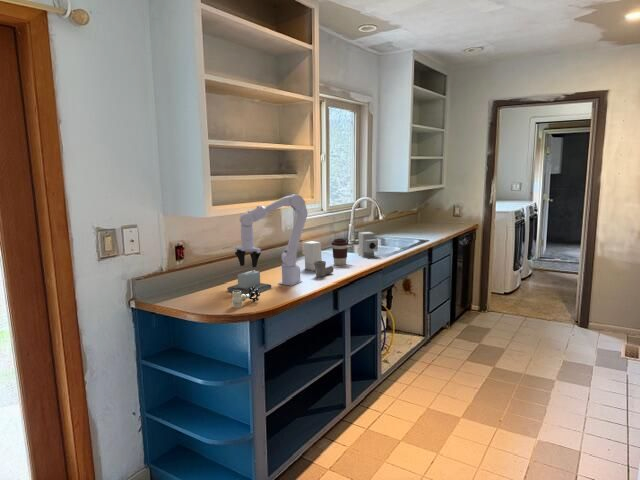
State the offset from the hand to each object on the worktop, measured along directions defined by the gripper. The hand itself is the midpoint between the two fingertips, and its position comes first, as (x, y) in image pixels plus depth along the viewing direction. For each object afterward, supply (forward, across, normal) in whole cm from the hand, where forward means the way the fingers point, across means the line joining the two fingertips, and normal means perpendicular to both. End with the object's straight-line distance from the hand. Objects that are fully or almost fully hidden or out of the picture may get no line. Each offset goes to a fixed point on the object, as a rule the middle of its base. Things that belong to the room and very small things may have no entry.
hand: (248, 266), depth 213 cm
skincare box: (+10, +7, +47) cm, 49 cm away
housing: (+8, +4, -5) cm, 10 cm away
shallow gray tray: (+10, +4, -5) cm, 12 cm away
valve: (+10, +18, -24) cm, 32 cm away
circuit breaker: (+10, +18, +96) cm, 98 cm away
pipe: (+10, +20, +36) cm, 43 cm away
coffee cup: (+10, +14, +66) cm, 68 cm away
